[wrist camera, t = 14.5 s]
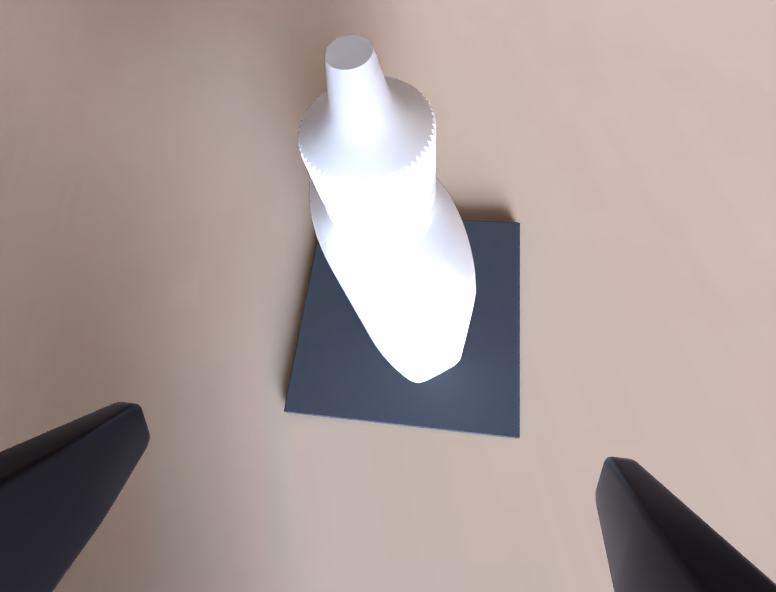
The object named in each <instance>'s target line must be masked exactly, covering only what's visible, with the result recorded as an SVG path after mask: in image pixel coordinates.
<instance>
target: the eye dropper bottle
mask: <svg viewBox="0 0 776 592" xmlns="http://www.w3.org/2000/svg"><path fill="white" fill-rule="evenodd" d="M325 67H326V80H327V90H326V91H325V92H323V93H322V94H321V95H320V96H318V98H317V99H316V100H315V101H314V102H313V103H312V104H311V105H310V107H309V108H308V109H307V111H306V113H305V114H304V117H303V119H302V120H301V124H300V126H299V128H300V129H299V131H298V134H299V136H298V140H299V142H298V145H299V147H300V148H299V150H300V153H301V156H302V158H303V160H304V163H305V165H306V167H307V169H308V171H309V174H310V184H309V202H310V210H311V216H312V221H313V225H314V229H315V232H316V236H317V238H318V241H319V244H320V247H321V249H322V251H323V253H324V255H325V257H326V259H327V261H328V263H329V265H330V267H331V269H332V271H333V273H334V274H335V276H336V278H337V280H338V281H339V283H340V285H341V287H342V289H343V290H344V292H345V294H346V296H347V297H348V299H349V301H350V303H351V304H352V306H353V308H354V310H355V311H356V313H357V315H358V317H359V318H360V320H361V322H362V324H363V325H364V327H365V329H366V331H367V332H368V334H369V336H370V338H371V339H372V341H373V342H374V344H375V346H376V347H377V348H378V350H379V351H380V352H381V354H382V355H383V356H384V357H385V359H386V360H387V361H388V362H389V363H390V364H391V365H392V366H393V367H394V368H395V369H396V370H397V371H398V372H400V373H401V374H402V375H403V376H404V377H406V378H407V379H409V380H410V381H413V382H416V383H419V382H425V381H427V380H429V379H431V378H433V377H435V376H437V375H438V374H440V373H442V372H444V371H446V370H448V369H449V368H451V367H453V366H455V365H456V363H457V362H458V361H459V360H460V358H461V354H462V350H463V347H464V343H465V339H466V335H467V331H468V327H469V322H470V318H471V314H472V310H473V306H474V300H475V295H476V280H475V268H474V261H473V257H472V252H471V247H470V243H469V240H468V236H467V233H466V230H465V227H464V225H463V222H462V219H461V217H460V215H459V212H458V210H457V208H456V206H455V204H454V203H453V201H452V199H451V197H450V195H449V194H448V192H447V191H446V189H445V188H444V186H443V185H442V184H441V182H440V181H439V180H438V178H437V177H436V124H435V118H434V112H433V111H432V107H431V106H430V105H429V102H428V101H427V100H426V97H424V96H423V95H422V93H420V92H419V91H418V90H417V89H416V88H414V87H412V86H411V85H409V84H407V83H405V82H403V81H401V80H398V79H395V78H391V77H386V76H384V74H383V72H382V69H381V66H380V64H379V61H378V58H377V55H376V53H375V50H374V47H373V45H372V43H371V41H370V40H369V39H368V38H366V37H364V36H362V35H357V34H349V35H344V36H341V37H339V38H337V39H335V40H334V41H332V42H331V43H330V44H329V45H328V47H327V48H326V51H325Z"/></svg>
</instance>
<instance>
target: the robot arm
mask: <svg viewBox="0 0 776 592" xmlns="http://www.w3.org/2000/svg"><path fill="white" fill-rule="evenodd" d="M149 439H150V434H149V430H148V427H147V424H146V421H145V417H144V414H143V411H142V408H141V407H140V406H139V405H138V404H135V403H127V402H117V403H114V404H111V405H109V406H107V407H104V408H102V409H100V410H97V411H95V412H93V413H90V414H88V415H86V416H83V417H81V418H79V419H76V420H74V421H72V422H69V423H67V424H65V425H62V426H60V427H58V428H55V429H53V430H51V431H48V432H46V433H44V434H41V435H39V436H37V437H34V438H32V439H30V440H27V441H25V442H23V443H20V444H18V445H16V446H13V447H11V448H9V449H6V450H4V451H2V452H0V592H53V590H54V589H55V587H56V586H57V584H58V583H59V582H60V580H61V579H62V577H63V576H64V575H65V573H66V572H67V570H68V569H69V568H70V566H71V565H72V563H73V562H74V561H75V559H76V558H77V556H78V555H79V554H80V552H81V551H82V549H83V548H84V547H85V545H86V544H87V542H88V541H89V540H90V538H91V537H92V535H93V534H94V533H95V531H96V530H97V528H98V527H99V525H100V524H101V522H102V521H103V519H104V518H105V516H106V515H107V513H108V511H109V510H110V508H111V507H112V505H113V503H114V502H115V500H116V498H117V497H118V495H119V493H120V492H121V490H122V488H123V486H124V485H125V483H126V481H127V480H128V478H129V476H130V475H131V473H132V471H133V470H134V468H135V466H136V465H137V463H138V461H139V460H140V458H141V456H142V455H143V453H144V451H145V449H146V448H147V446H148V443H149ZM596 505H597V510H598V515H599V520H600V525H601V529H602V534H603V539H604V544H605V549H606V553H607V558H608V563H609V568H610V573H611V577H612V582H613V587H614V591H615V592H776V584H775V583H774V582H773V581H772V580H770V579H769V578H768V577H767V576H766V575H765V574H764V573H762V572H761V571H760V570H759V569H758V568H757V567H756V566H754V565H753V564H752V563H751V562H750V561H749V560H748V559H746V558H745V557H744V556H743V555H742V554H741V553H740V552H738V551H737V550H736V549H735V548H734V547H733V546H732V545H730V544H729V543H728V542H727V541H726V540H725V539H724V538H723V537H721V536H720V535H719V534H718V533H717V532H716V531H715V530H713V529H712V528H711V527H710V526H709V525H708V524H707V523H705V522H704V521H703V520H702V519H701V518H700V517H699V516H697V515H696V514H695V513H694V512H693V511H692V510H691V509H689V508H688V507H687V506H686V505H685V504H684V503H683V502H682V501H680V500H679V499H678V498H677V497H676V496H675V495H674V494H672V493H671V492H670V491H669V490H668V489H667V488H666V487H664V486H663V485H662V484H661V483H660V482H659V481H658V480H656V479H655V478H654V477H653V476H652V475H651V474H650V473H648V472H647V471H646V470H645V469H644V468H643V467H642V466H640V465H639V464H638V463H637V462H636V461H634V460H632V459H627V458H618V457H608V458H607V459H606V460H605V462H604V464H603V468H602V471H601V475H600V478H599V482H598V485H597V489H596Z"/></svg>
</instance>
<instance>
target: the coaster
mask: <svg viewBox="0 0 776 592" xmlns="http://www.w3.org/2000/svg"><path fill="white" fill-rule="evenodd" d="M462 222H463V225H464V227H465V230H466V233H467V236H468V240H469V243H470V247H471V252H472V257H473V261H474V268H475V280H476V295H475V300H474V306H473V310H472V314H471V318H470V322H469V327H468V331H467V335H466V339H465V343H464V347H463V350H462V354H461V358H460V360H459V361H458V362H457V363H456V365H455V366H453V367H451V368H449V369H448V370H446V371H444V372H442V373H440V374H438V375H437V376H435V377H433V378H431V379H429V380H427V381H425V382H419V383H416V382H413V381H410V380H409V379H407V378H406V377H404V376H403V375H402V374H401V373H400V372H398V371H397V370H396V369H395V368H394V367H393V366H392V365H391V364H390V363H389V362H388V361H387V360H386V359H385V357H384V356H383V355H382V354H381V352H380V351H379V350H378V348H377V347H376V346H375V344H374V342H373V341H372V339H371V338H370V336H369V334H368V332H367V331H366V329H365V327H364V325H363V324H362V322H361V320H360V318H359V317H358V315H357V313H356V311H355V310H354V308H353V306H352V304H351V303H350V301H349V299H348V297H347V296H346V294H345V292H344V290H343V289H342V287H341V285H340V283H339V281H338V280H337V278H336V276H335V274H334V273H333V271H332V269H331V267H330V265H329V263H328V261H327V259H326V257H325V255H324V253H323V251H322V249H321V247H320V244H319V241H318V239H317V244H316V250H315V255H314V260H313V265H312V270H311V275H310V281H309V286H308V291H307V296H306V301H305V306H304V311H303V317H302V322H301V327H300V332H299V337H298V342H297V348H296V353H295V358H294V363H293V368H292V373H291V378H290V384H289V389H288V394H287V399H286V404H285V409H284V412H288V413H296V414H305V415H314V416H323V417H332V418H341V419H350V420H359V421H368V422H376V423H385V424H394V425H403V426H412V427H421V428H430V429H439V430H447V431H456V432H465V433H474V434H483V435H492V436H501V437H510V438H519V437H520V223H517V222H491V221H466V220H462Z"/></svg>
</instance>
